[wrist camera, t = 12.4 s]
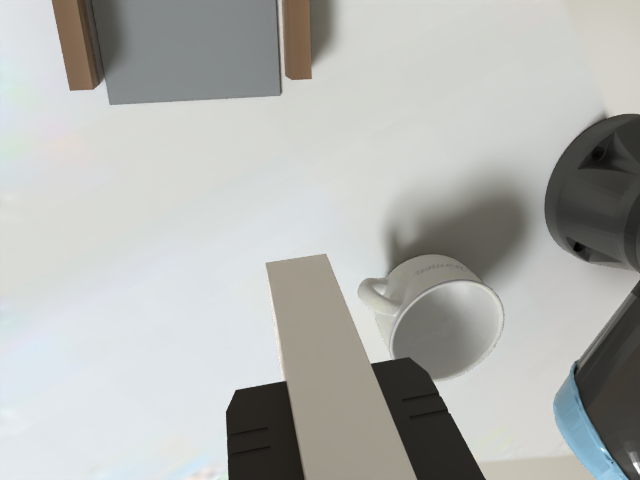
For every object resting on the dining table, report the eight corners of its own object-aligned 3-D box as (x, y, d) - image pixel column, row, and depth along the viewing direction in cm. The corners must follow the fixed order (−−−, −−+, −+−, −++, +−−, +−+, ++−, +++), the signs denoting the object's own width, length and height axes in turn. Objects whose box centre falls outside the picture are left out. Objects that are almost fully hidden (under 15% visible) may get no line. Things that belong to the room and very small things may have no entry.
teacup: (483, 278, 54) (528, 318, 47) (414, 354, 56) (448, 403, 49) (390, 204, 49) (425, 237, 42) (317, 291, 50) (338, 337, 43)
